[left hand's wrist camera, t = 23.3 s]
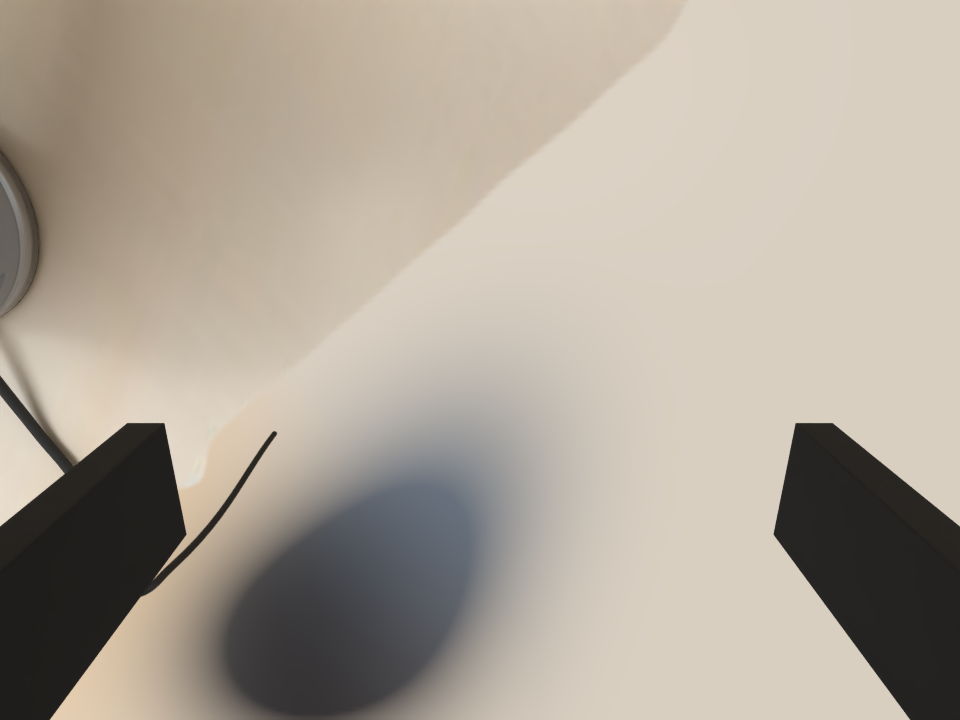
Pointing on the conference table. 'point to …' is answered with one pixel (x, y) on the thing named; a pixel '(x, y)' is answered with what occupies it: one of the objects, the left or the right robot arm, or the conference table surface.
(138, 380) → the conference table surface
